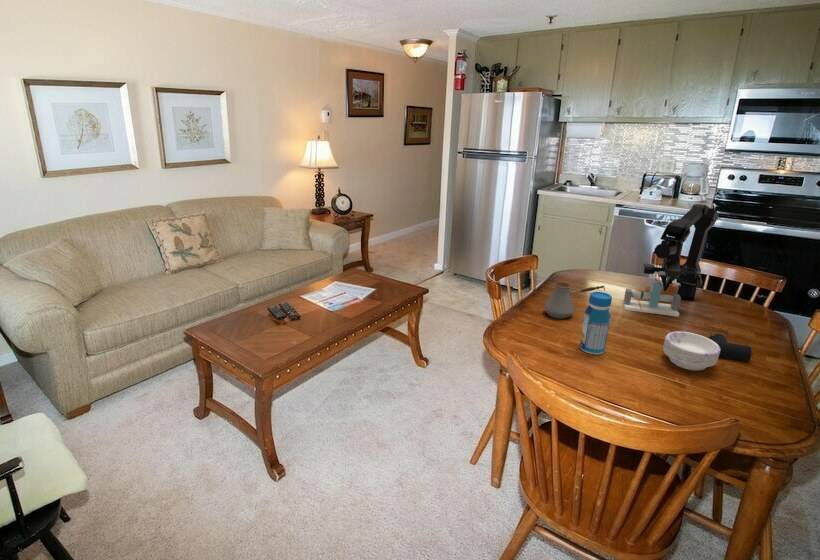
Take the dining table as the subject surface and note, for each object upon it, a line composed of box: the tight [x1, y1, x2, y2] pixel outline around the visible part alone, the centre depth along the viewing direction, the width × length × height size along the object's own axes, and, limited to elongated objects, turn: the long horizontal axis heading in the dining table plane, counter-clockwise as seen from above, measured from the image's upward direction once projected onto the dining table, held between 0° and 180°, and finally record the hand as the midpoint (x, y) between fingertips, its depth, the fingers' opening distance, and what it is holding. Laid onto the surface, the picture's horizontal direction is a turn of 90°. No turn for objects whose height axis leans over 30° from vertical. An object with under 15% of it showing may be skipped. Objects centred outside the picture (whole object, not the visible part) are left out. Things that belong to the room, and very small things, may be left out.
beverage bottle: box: [579, 291, 613, 355], centre depth 151 cm, size 8×8×20 cm
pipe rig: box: [622, 288, 682, 318], centre depth 188 cm, size 20×10×7 cm, turn 71°
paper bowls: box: [662, 331, 720, 371], centre depth 145 cm, size 15×15×8 cm
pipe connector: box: [708, 331, 753, 362], centre depth 154 cm, size 12×5×15 cm
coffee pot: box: [544, 281, 606, 319], centre depth 177 cm, size 21×12×15 cm, turn 64°
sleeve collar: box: [647, 279, 663, 306], centre depth 186 cm, size 3×6×9 cm, turn 161°
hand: (664, 290), depth 185 cm, fingers closed
